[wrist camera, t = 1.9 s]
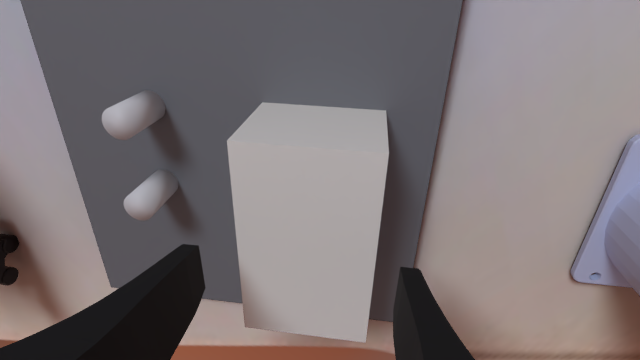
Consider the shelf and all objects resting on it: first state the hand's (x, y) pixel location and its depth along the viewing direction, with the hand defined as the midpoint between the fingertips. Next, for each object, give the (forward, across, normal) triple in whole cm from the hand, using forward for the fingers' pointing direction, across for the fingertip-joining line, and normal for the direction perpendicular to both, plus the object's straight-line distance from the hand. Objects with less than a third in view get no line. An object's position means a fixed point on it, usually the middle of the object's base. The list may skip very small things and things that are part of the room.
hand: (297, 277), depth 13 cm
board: (+7, +4, -1) cm, 8 cm away
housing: (+6, 0, 0) cm, 6 cm away
